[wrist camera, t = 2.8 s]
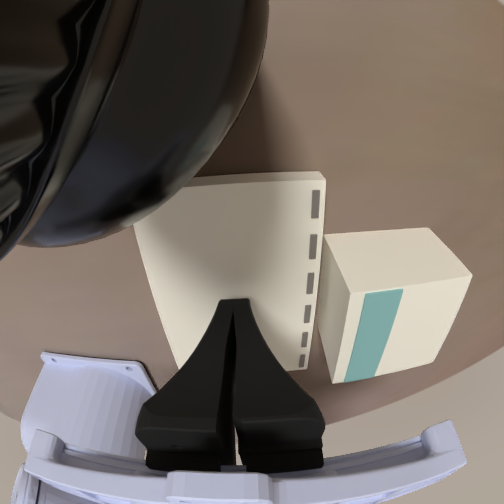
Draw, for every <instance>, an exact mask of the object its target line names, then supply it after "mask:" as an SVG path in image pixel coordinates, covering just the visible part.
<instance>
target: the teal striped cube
mask: <svg viewBox="0 0 504 504" xmlns="http://www.w3.org/2000/svg"><path fill="white" fill-rule="evenodd" d="M471 278H472V274H471V273H470V271H469V270H468V269H467V268H466V267H465V266H464V265H463V264H462V262H461V261H460V260H459V259H458V258H457V257H456V256H455V255H454V254H453V253H452V252H451V250H450V249H449V248H448V247H447V246H446V245H445V244H444V243H443V242H442V241H441V240H440V239H439V238H438V237H437V236H436V235H435V234H434V233H433V232H432V231H431V230H430V229H429V228H413V229H397V230H382V231H368V232H353V233H339V234H325V235H324V237H323V255H322V271H321V285H320V297H319V308H318V319H317V325H318V329H319V333H320V337H321V341H322V345H323V349H324V353H325V357H326V361H327V365H328V369H329V373H330V377H331V381H332V384H335V383H341V382H344V383H345V382H351V381H356V380H362V379H367V378H372V377H374V376H379V375H383V374H388V373H392V372H397V371H401V370H405V369H409V368H413V367H417V366H421V365H424V364H428V363H432V362H433V361H434V359H435V357H436V356H437V354H438V352H439V350H440V348H441V346H442V344H443V342H444V340H445V338H446V336H447V334H448V332H449V330H450V328H451V326H452V324H453V321H454V319H455V317H456V315H457V313H458V310H459V308H460V306H461V303H462V301H463V298H464V296H465V294H466V291H467V289H468V286H469V283H470V281H471Z"/></svg>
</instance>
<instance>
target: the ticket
mask: <svg viewBox="0 0 504 504" xmlns="http://www.w3.org/2000/svg"><path fill="white" fill-rule="evenodd" d="M325 191H326V179H325V178H324V177H323V176H322V174H321V173H320V172H319V171H303V172H270V173H249V174H233V175H218V176H206V177H194V178H192V179H191V180H190V181H189V182H188V183H187V184H186V185H185V186H184V187H183V188H182V189H180V190H179V191H178V192H177V193H176V194H175V195H174V196H173V197H172V198H171V199H169V200H168V201H167V202H166V203H164V204H163V205H162V206H161V207H159V208H158V209H157V210H155V211H154V212H152V213H151V214H149V215H148V216H146V217H145V218H143V219H142V220H140V221H138V222H137V223H135V224H133V225H134V229H135V233H136V237H137V241H138V245H139V249H140V252H141V256H142V260H143V263H144V267H145V270H146V274H147V277H148V281H149V284H150V287H151V291H152V294H153V297H154V300H155V303H156V306H157V309H158V313H159V316H160V319H161V322H162V324H163V327H164V330H165V333H166V336H167V339H168V342H169V344H170V347H171V350H172V353H173V355H174V358H175V361H176V363H177V366H178V368H179V370H180V368H181V367H182V366H183V365H184V363H185V362H186V361H187V360H188V358H189V357H190V356H191V354H192V353H193V351H194V350H195V348H196V347H197V345H198V343H199V342H200V340H201V339H202V337H203V335H204V333H205V332H206V330H207V328H208V326H209V324H210V322H211V320H212V317H213V315H214V313H215V311H216V308H217V305H218V302H219V301H220V300H221V299H241V298H248V299H249V300H250V304H251V309H252V312H253V315H254V318H255V321H256V323H257V325H258V327H259V330H260V332H261V334H262V336H263V338H264V340H265V341H266V343H267V345H268V347H269V348H270V350H271V351H272V353H273V354H274V356H275V357H276V359H277V360H278V362H279V363H280V364H281V366H282V367H283V368H284V369H285V371H293V370H303V369H307V366H308V359H309V353H310V346H311V339H312V331H313V324H314V316H315V307H316V299H317V290H318V280H319V271H320V260H321V249H322V237H323V223H324V208H325Z"/></svg>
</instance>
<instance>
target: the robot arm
mask: <svg viewBox="0 0 504 504" xmlns="http://www.w3.org/2000/svg"><path fill="white" fill-rule="evenodd" d="M41 358H42V360H43V361H44V362H45V364H44V366H43V368H42V370H41V373H40V375H39V377H38V379H37V381H36V384H35V386H34V388H33V391H32V393H31V395H30V398H29V400H28V403H27V405H26V408H25V410H24V413H23V416H22V420H21V438H22V442H23V445H24V447H25V449H26V451H27V453H28V456H27V459H26V462H25V463H23V464H22V465H21V467H20V469H19V471H18V474H17V477H16V481H15V484H14V488H13V492H12V497H11V502H10V504H378V503H381V502H384V501H388V500H391V499H394V498H396V497H399V496H402V495H405V494H407V493H410V492H413V491H416V490H418V489H421V488H423V487H426V486H428V485H431V484H433V483H436V482H438V481H440V480H442V479H444V478H445V477H447V476H449V475H450V474H452V473H453V472H455V471H456V470H458V469H459V468H461V467H462V466H464V465H465V464H466V463H467V461H466V457H465V455H464V452H463V449H462V446H461V443H460V441H459V438H458V435H457V433H456V430H455V427H454V425H453V422H452V420H451V419H449V420H446V421H444V422H441V423H438V424H435V425H433V426H431V427H428V428H427V429H425V430H424V431H423V432H422V434H421V435H419V436H416V437H413V438H410V439H407V440H403V441H400V442H397V443H393V444H389V445H386V446H382V447H378V448H374V449H370V450H365V451H361V452H356V453H351V454H346V455H341V456H335V457H329V458H323V453H322V447H323V444H322V439H321V437H322V435H323V432H324V430H325V421H324V418H323V416H322V413H321V411H320V409H319V407H318V405H317V404H316V402H315V400H314V399H313V398H311V397H310V396H309V395H308V394H307V393H306V392H305V391H304V390H303V389H302V388H301V387H300V386H299V385H298V384H297V383H296V382H295V381H294V380H293V379H292V378H291V377H290V375H289V374H288V373H287V372H286V371H285V369H284V368H283V367H282V366H281V364H280V363H279V362H278V360H277V359H276V357H275V356H274V354H273V353H272V351H271V350H270V348H269V347H268V345H267V343H266V341H265V340H264V338H263V336H262V334H261V332H260V330H259V327H258V325H257V323H256V321H255V318H254V315H253V312H252V309H251V304H250V300H249V299H248V298H241V299H221V300H220V301H219V302H218V305H217V308H216V311H215V313H214V315H213V317H212V320H211V322H210V324H209V326H208V328H207V330H206V332H205V333H204V335H203V337H202V339H201V340H200V342H199V343H198V345H197V347H196V348H195V350H194V351H193V353H192V354H191V356H190V357H189V358H188V360H187V361H186V362H185V363H184V365H183V366H182V367H181V368H180V370H179V371H178V372H177V373H176V374H175V375H174V376H173V377H172V378H171V379H170V380H169V381H168V382H167V383H166V384H165V385H164V386H163V387H162V388H161V389H160V390H159V391H158V392H157V391H156V389H155V388H154V386H153V384H152V382H151V380H150V378H149V376H148V375H147V373H146V371H145V369H144V367H143V365H142V364H141V363H139V362H137V361H124V360H110V359H99V358H88V357H79V356H71V355H63V354H55V353H48V352H42V354H41ZM234 387H235V392H234ZM235 428H236V432H237V436H238V453H239V455H240V458H241V461H242V464H243V465H236V450H235ZM146 448H147V456H146V460H144V455H145V449H146Z"/></svg>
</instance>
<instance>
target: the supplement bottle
mask: <svg viewBox="0 0 504 504" xmlns="http://www.w3.org/2000/svg"><path fill="white" fill-rule="evenodd" d="M268 18H269V0H0V261H1V260H2V259H3V258H4V257H5V256H6V255H7V254H8V253H9V252H10V251H11V250H12V249H13V248H14V247H15V246H16V245H22V246H28V247H39V248H54V247H67V246H73V245H79V244H84V243H88V242H91V241H95V240H98V239H102V238H105V237H107V236H110V235H112V234H114V233H117V232H119V231H121V230H123V229H125V228H127V227H129V226H131V225H133V224H135V223H137V222H138V221H140V220H142V219H143V218H145V217H146V216H148V215H149V214H151V213H152V212H154V211H155V210H157V209H158V208H159V207H161V206H162V205H163V204H164V203H166V202H167V201H168V200H169V199H171V198H172V197H173V196H174V195H175V194H176V193H177V192H178V191H179V190H180V189H182V188H183V187H184V186H185V185H186V184H187V183H188V182H189V181H190V180H191V179H192V178H193V176H194V175H195V174H196V173H197V172H198V171H199V170H200V169H201V168H202V166H203V165H204V164H205V163H206V162H207V161H208V160H209V158H210V157H211V156H212V154H213V153H214V152H215V151H216V149H217V148H218V147H219V145H220V144H221V143H222V141H223V140H224V139H225V137H226V136H227V134H228V132H229V131H230V129H231V128H232V126H233V125H234V123H235V122H236V120H237V118H238V116H239V114H240V112H241V110H242V108H243V107H244V105H245V103H246V101H247V99H248V96H249V94H250V92H251V89H252V87H253V84H254V82H255V80H256V77H257V74H258V70H259V67H260V64H261V61H262V58H263V53H264V48H265V43H266V38H267V29H268Z"/></svg>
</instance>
